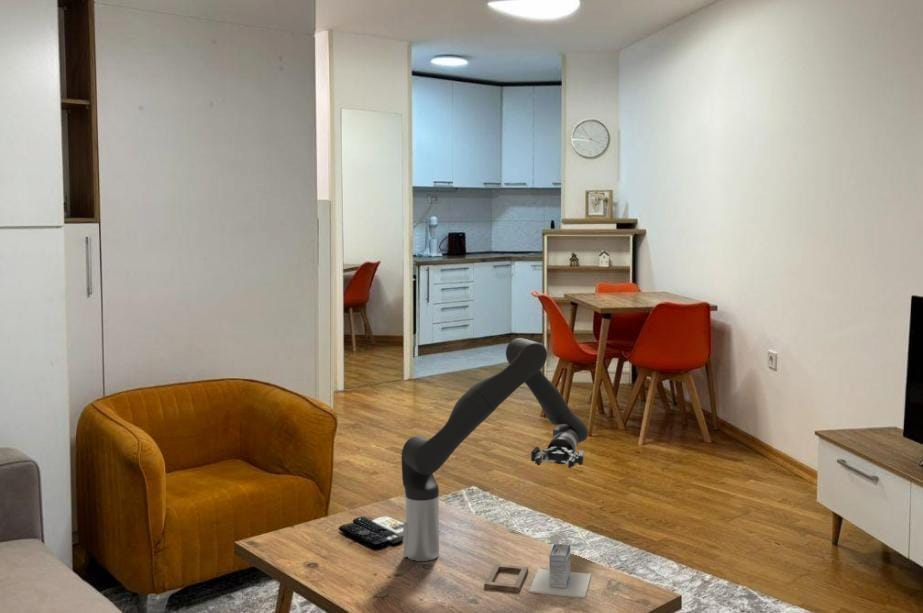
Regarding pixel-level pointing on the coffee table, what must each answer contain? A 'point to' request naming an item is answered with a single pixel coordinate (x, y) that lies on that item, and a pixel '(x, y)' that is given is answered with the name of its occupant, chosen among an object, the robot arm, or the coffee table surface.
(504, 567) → the box holder
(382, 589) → the coffee table surface
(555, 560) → the medicine box
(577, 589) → the grey mat
